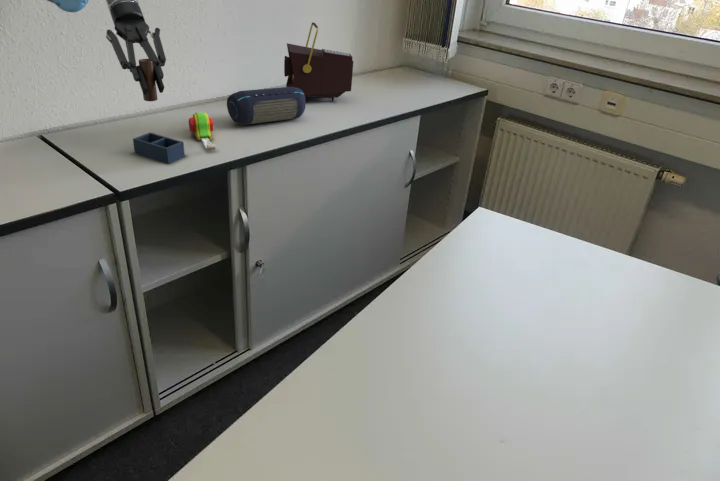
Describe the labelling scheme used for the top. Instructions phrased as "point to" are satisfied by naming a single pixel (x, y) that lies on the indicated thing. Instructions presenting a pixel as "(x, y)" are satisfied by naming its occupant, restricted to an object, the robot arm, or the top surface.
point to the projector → (318, 70)
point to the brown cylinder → (149, 79)
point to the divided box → (159, 147)
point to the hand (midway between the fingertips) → (153, 90)
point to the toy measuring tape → (202, 128)
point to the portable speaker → (266, 105)
